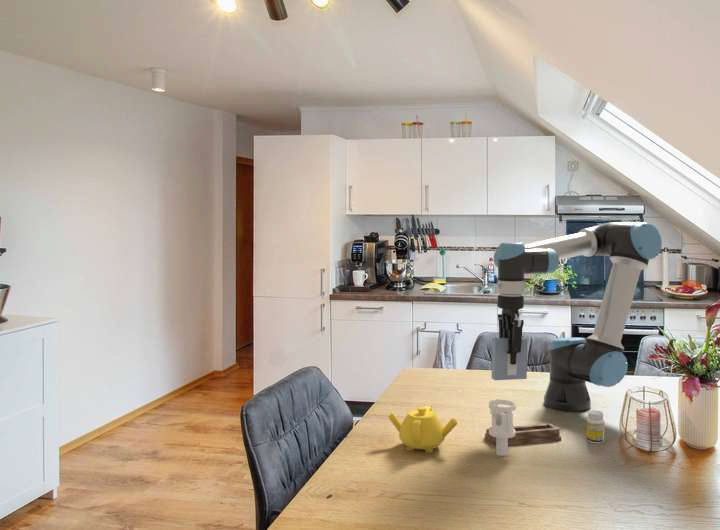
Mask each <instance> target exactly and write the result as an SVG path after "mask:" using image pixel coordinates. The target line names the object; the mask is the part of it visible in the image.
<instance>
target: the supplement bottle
mask: <svg viewBox="0 0 720 530" xmlns="http://www.w3.org/2000/svg"><path fill="white" fill-rule="evenodd" d="M587 416H588V418H586V441H587V442H589V443H591V444H596V445H598V444H604V442H605V420H604V412H603V411H600V410H595V409H593V410H591V409H590V410H589V411H588V413H587Z"/></svg>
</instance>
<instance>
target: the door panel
mask: <svg viewBox="0 0 720 530" xmlns="http://www.w3.org/2000/svg"><path fill="white" fill-rule="evenodd" d="M506 351H509V345H508V338H499V337H498V338H497V337H496V338H491V379H492V380H493V381H507V380H508V381H510V380H527V378H528V338H526V337H524V336H522V342H521V352H518V353H517V375H507V353H506Z"/></svg>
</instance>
